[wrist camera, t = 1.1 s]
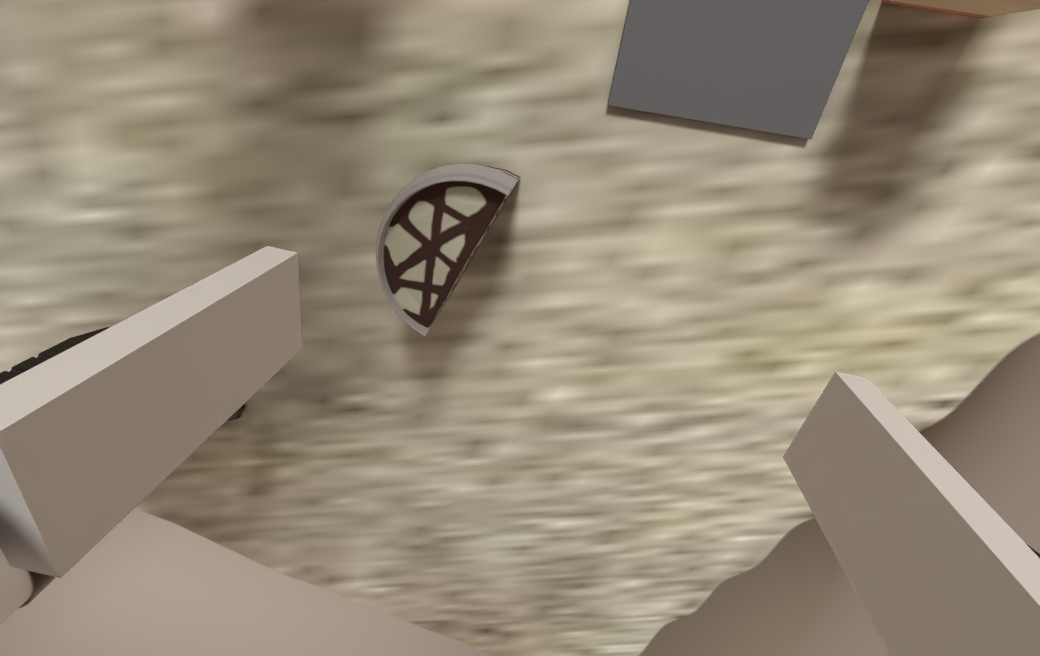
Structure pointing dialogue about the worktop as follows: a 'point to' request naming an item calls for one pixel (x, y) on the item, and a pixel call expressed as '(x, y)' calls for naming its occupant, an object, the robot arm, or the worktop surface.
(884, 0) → the maple block
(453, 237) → the food container
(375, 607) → the worktop surface
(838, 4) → the rubber mat
